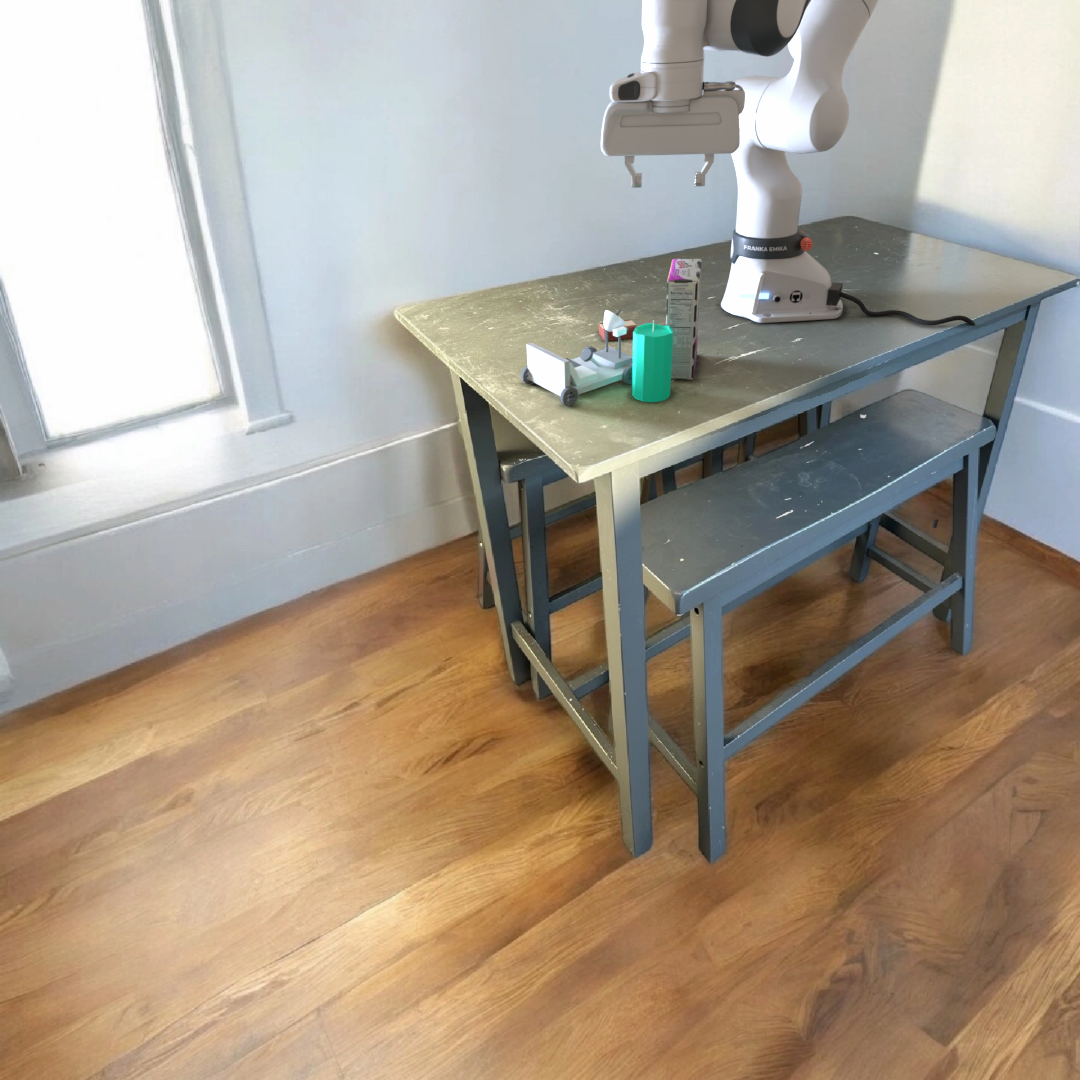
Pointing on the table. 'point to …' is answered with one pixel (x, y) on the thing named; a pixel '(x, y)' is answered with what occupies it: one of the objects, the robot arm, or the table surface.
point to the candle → (652, 362)
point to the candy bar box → (683, 315)
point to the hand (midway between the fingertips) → (667, 186)
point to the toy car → (580, 366)
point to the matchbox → (631, 327)
